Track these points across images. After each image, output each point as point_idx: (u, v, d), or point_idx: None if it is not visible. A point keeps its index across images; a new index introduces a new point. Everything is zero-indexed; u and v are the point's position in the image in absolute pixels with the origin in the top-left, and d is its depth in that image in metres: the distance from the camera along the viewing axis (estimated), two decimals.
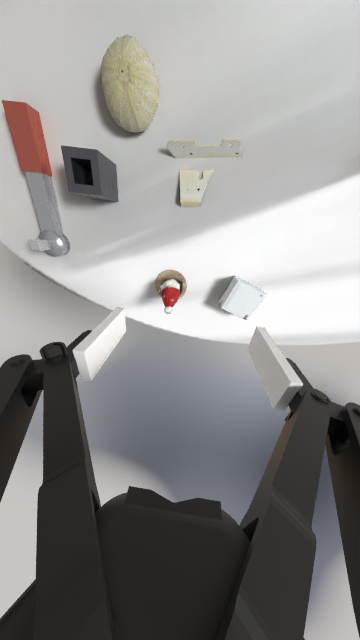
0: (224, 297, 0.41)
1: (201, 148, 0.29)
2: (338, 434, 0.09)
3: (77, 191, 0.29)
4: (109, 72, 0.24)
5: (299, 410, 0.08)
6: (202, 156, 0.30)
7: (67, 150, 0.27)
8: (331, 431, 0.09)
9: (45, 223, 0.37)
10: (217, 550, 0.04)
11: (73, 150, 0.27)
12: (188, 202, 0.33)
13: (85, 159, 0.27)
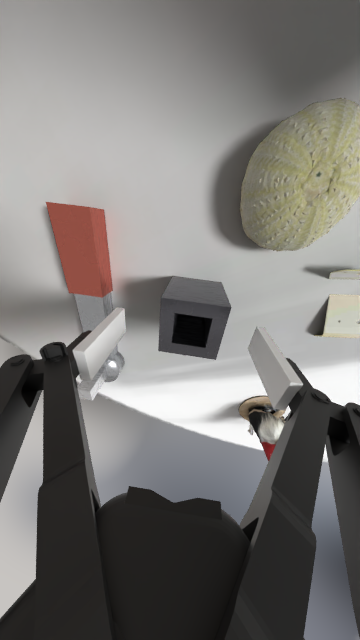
0: None
1: None
2: (338, 434, 0.09)
3: (173, 351, 0.17)
4: (284, 173, 0.11)
5: (299, 410, 0.08)
6: None
7: (172, 304, 0.14)
8: (331, 431, 0.09)
9: None
10: (217, 550, 0.04)
11: (183, 305, 0.14)
12: (333, 336, 0.21)
13: None
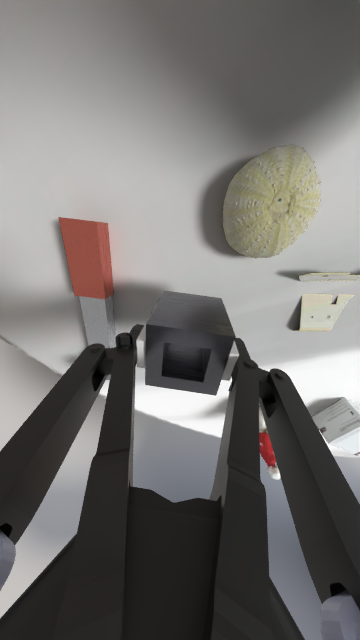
0: (330, 426, 0.30)
1: (350, 277, 0.20)
2: (263, 394, 0.11)
3: (163, 385, 0.14)
4: (254, 198, 0.14)
5: (237, 381, 0.10)
6: (343, 280, 0.21)
7: (160, 332, 0.11)
8: (259, 392, 0.11)
9: None
10: (217, 550, 0.04)
11: (174, 333, 0.11)
12: (309, 330, 0.24)
13: None
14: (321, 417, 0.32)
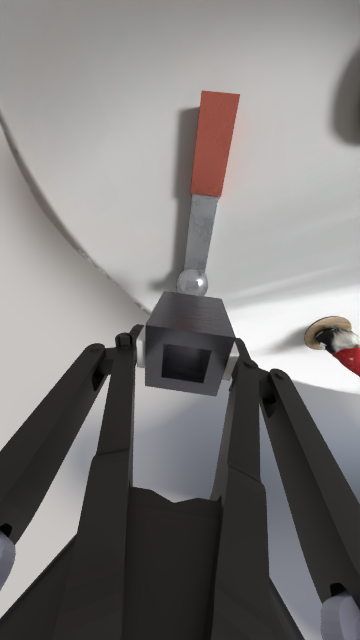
0: None
1: None
2: (263, 394, 0.11)
3: (163, 386, 0.14)
4: None
5: (237, 381, 0.10)
6: None
7: (160, 333, 0.11)
8: (259, 392, 0.11)
9: (194, 260, 0.27)
10: (217, 551, 0.04)
11: (174, 334, 0.11)
12: None
13: None
14: None
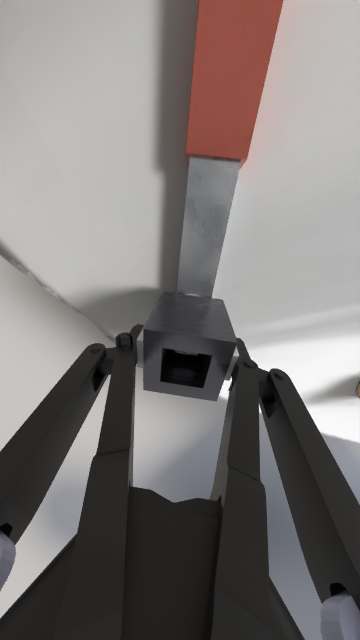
0: None
1: None
2: (263, 394, 0.11)
3: (162, 391, 0.13)
4: None
5: (237, 380, 0.10)
6: None
7: (158, 337, 0.11)
8: (258, 392, 0.11)
9: (193, 280, 0.16)
10: (217, 551, 0.04)
11: (173, 338, 0.10)
12: None
13: None
14: None
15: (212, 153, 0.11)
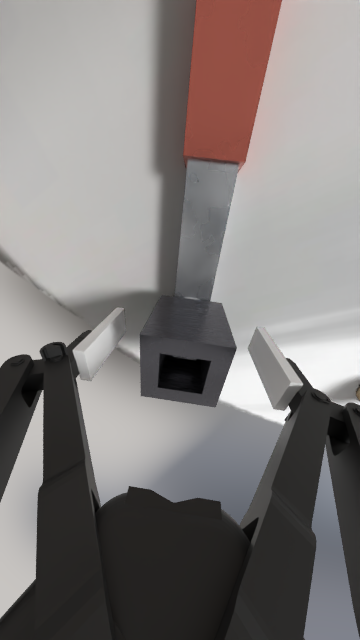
0: None
1: None
2: (338, 434, 0.09)
3: (160, 397, 0.13)
4: None
5: (299, 410, 0.08)
6: None
7: (156, 343, 0.10)
8: (331, 431, 0.09)
9: (191, 283, 0.16)
10: (217, 550, 0.04)
11: (171, 344, 0.10)
12: None
13: None
14: None
15: (210, 156, 0.11)
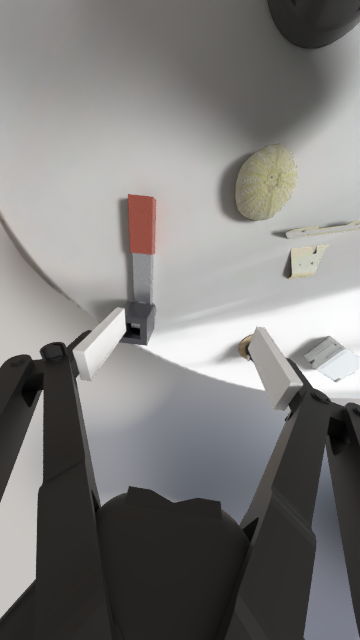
0: (317, 357, 0.39)
1: (322, 230, 0.29)
2: (338, 434, 0.09)
3: (124, 342, 0.33)
4: (256, 177, 0.24)
5: (299, 410, 0.08)
6: (318, 234, 0.30)
7: None
8: (331, 431, 0.09)
9: (140, 296, 0.36)
10: (217, 551, 0.04)
11: (125, 318, 0.30)
12: (299, 275, 0.33)
13: None
14: (311, 353, 0.41)
15: (139, 252, 0.31)
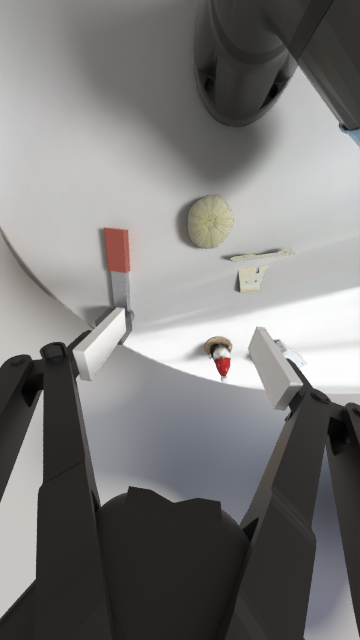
0: None
1: (258, 256, 0.36)
2: (338, 434, 0.09)
3: None
4: (198, 219, 0.31)
5: (299, 410, 0.08)
6: (258, 258, 0.37)
7: (99, 323, 0.38)
8: (331, 431, 0.09)
9: (119, 304, 0.44)
10: (217, 551, 0.04)
11: None
12: (246, 290, 0.40)
13: None
14: None
15: (116, 271, 0.39)
